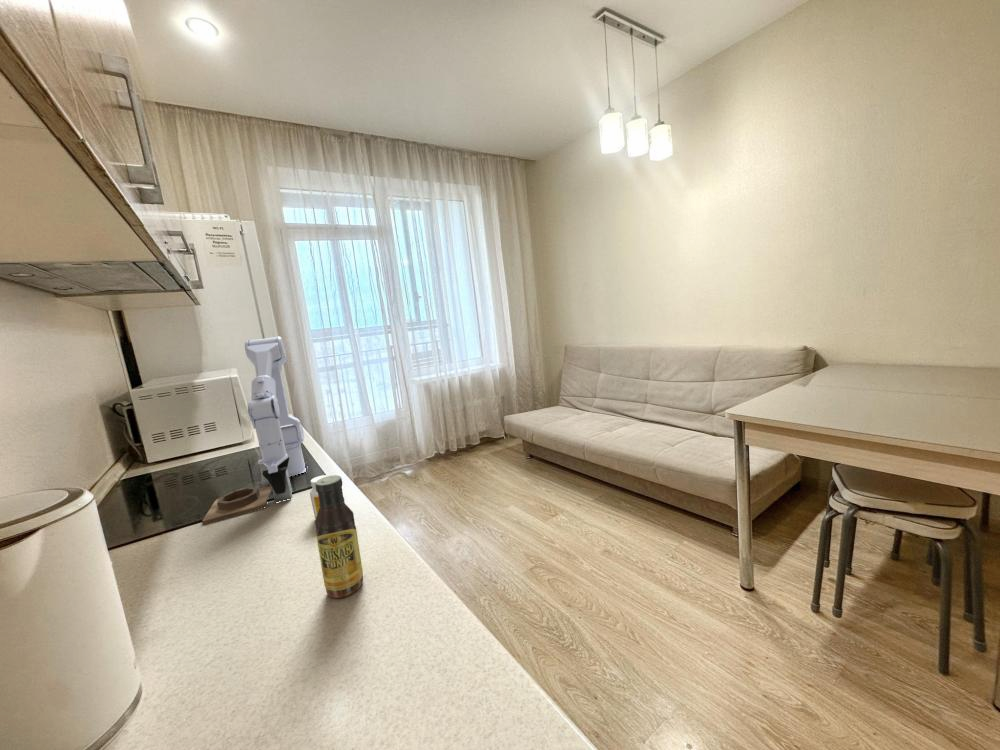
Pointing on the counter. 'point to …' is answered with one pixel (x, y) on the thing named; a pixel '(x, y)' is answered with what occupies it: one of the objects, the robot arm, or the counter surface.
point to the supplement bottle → (315, 495)
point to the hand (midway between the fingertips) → (282, 489)
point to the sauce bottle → (337, 540)
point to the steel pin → (287, 490)
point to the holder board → (238, 503)
